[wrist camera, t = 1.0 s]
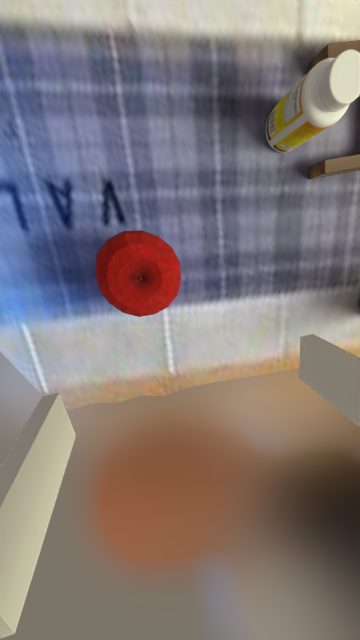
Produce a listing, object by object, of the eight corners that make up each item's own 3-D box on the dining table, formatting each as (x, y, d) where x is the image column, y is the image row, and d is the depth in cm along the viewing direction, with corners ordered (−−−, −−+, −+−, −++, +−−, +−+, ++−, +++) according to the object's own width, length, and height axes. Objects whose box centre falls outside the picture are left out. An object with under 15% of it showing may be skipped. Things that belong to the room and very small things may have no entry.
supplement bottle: (307, 135, 31) (383, 86, 22) (276, 163, 32) (336, 128, 22) (288, 93, 30) (362, 20, 20) (255, 123, 30) (312, 66, 20)
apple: (88, 255, 31) (66, 259, 21) (149, 219, 31) (156, 206, 21) (129, 314, 35) (126, 343, 24) (183, 282, 35) (204, 297, 24)
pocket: (309, 63, 29) (328, 43, 26) (381, 54, 30) (406, 35, 27) (309, 179, 33) (325, 173, 30) (371, 167, 34) (392, 161, 32)
